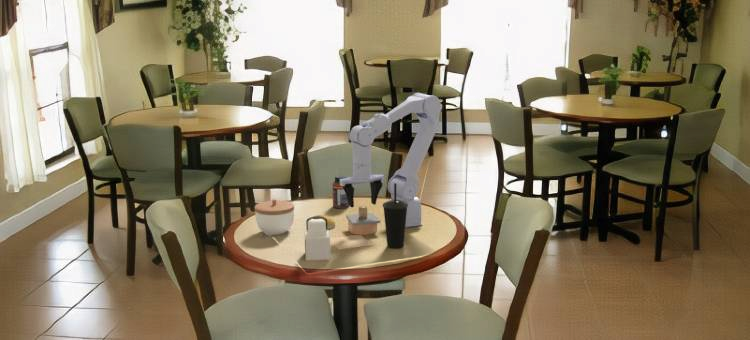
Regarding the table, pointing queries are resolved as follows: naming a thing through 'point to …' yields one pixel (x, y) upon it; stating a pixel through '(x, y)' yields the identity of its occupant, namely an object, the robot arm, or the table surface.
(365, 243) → the mat
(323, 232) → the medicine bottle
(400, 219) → the drinking cup
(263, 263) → the table surface
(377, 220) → the lid
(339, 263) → the table surface
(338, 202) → the supplement bottle
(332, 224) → the bread roll
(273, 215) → the lidded bowl
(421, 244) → the table surface
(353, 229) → the bowl
